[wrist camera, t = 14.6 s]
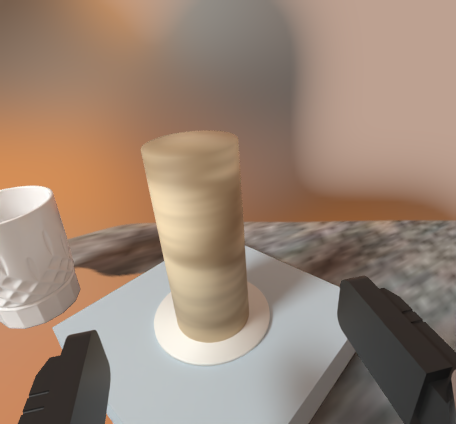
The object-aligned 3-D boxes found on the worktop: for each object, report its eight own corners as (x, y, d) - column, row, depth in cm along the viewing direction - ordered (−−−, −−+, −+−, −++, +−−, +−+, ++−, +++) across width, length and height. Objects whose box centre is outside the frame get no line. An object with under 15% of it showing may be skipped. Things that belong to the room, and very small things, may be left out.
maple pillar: (213, 279, 25) (194, 127, 19) (263, 308, 22) (258, 136, 16) (162, 316, 22) (122, 148, 16) (212, 357, 19) (183, 165, 13)
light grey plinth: (216, 255, 33) (213, 229, 32) (367, 332, 23) (374, 298, 22) (65, 356, 24) (50, 324, 22) (215, 565, 13) (207, 534, 12)
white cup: (40, 344, 25) (-15, 237, 20) (-30, 325, 27) (-93, 225, 23) (104, 280, 31) (73, 188, 27) (43, 269, 34) (6, 183, 29)
